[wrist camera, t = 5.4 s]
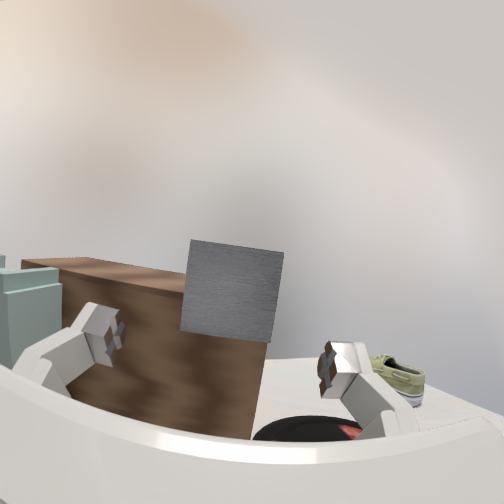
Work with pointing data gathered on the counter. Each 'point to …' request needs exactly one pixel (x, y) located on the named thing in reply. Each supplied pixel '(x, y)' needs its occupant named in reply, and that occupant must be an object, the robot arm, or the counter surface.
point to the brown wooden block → (159, 353)
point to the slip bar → (231, 291)
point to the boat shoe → (400, 377)
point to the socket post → (27, 309)
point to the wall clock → (309, 430)
